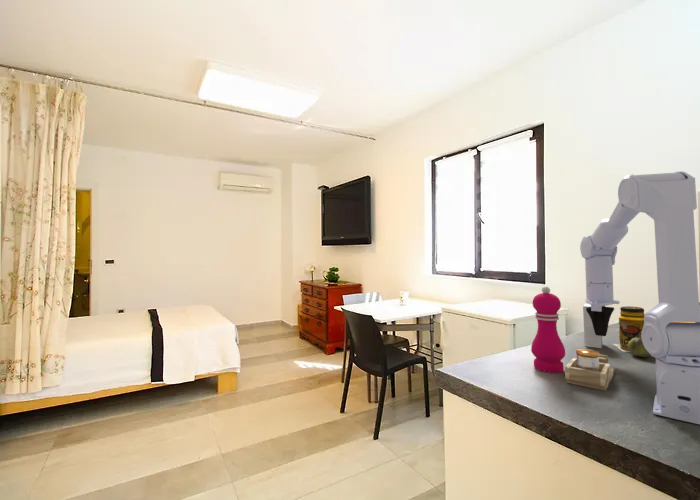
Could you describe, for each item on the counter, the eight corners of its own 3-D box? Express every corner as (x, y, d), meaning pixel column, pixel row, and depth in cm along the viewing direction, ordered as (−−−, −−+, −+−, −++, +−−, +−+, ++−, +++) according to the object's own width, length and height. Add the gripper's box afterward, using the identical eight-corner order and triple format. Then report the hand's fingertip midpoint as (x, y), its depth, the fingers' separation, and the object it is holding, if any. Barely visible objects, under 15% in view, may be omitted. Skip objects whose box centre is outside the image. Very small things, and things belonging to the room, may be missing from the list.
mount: (605, 391, 70) (604, 371, 70) (565, 383, 74) (564, 364, 74) (614, 372, 80) (613, 354, 80) (579, 365, 85) (578, 349, 85)
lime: (626, 353, 94) (626, 335, 94) (649, 355, 91) (649, 337, 91) (629, 358, 90) (629, 339, 90) (654, 360, 88) (653, 341, 88)
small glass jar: (604, 379, 73) (604, 354, 73) (585, 380, 73) (585, 354, 73) (590, 372, 77) (589, 348, 77) (572, 373, 77) (571, 349, 77)
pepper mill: (531, 371, 82) (529, 287, 82) (531, 362, 88) (529, 285, 89) (567, 375, 79) (564, 288, 79) (564, 366, 85) (562, 285, 85)
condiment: (623, 352, 95) (622, 309, 95) (612, 344, 103) (610, 304, 103) (656, 354, 93) (654, 309, 93) (641, 346, 101) (640, 305, 101)
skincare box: (585, 341, 106) (584, 303, 106) (602, 343, 104) (601, 304, 104) (583, 346, 102) (582, 306, 102) (601, 348, 99) (600, 307, 99)
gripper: (616, 286, 81) (617, 343, 81) (621, 281, 92) (622, 331, 91) (580, 284, 86) (582, 339, 85) (589, 280, 96) (590, 328, 96)
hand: (600, 335), depth 89 cm, fingers closed
